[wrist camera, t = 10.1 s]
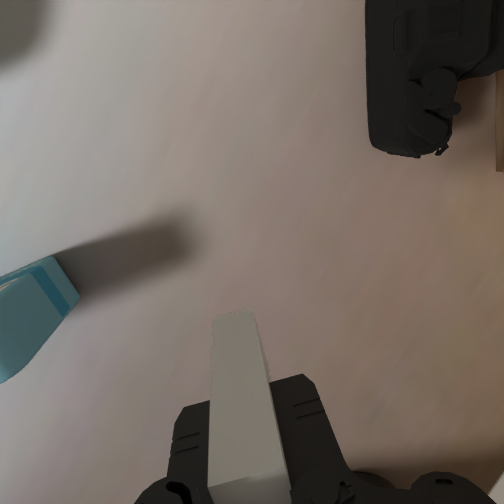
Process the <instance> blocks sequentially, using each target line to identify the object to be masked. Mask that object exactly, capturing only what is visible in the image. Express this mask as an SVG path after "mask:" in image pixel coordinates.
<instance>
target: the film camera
mask: <svg viewBox="0 0 504 504" xmlns="http://www.w3.org/2000/svg"><path fill="white" fill-rule="evenodd" d="M365 28H366V29H365V39H366V86H367V113H368V129H369V137H370V142H371V144H372V146H373V147H375V148H377V149H379V150H381V151H385V152H387V153H388V154H391V155H400V156H406V157H414V158H420V157H421V155H425V154H429V153H433V152H434V151H436V150H437V149H438V150H437V152H436V153H435V155H436V156H440V155H441V154H442V153H443V152H444V151H445V150H446V149H447V148H449V146H448V144H447V142H448V141H449V139H450V137H451V134H452V116H455V115H457V114H459V112H460V111H461V106H460V104H458V103H456V102H454V101H453V98H454V95H455V92H456V88H457V82H458V81H461V80H464V79H467V78H473V77H482V76H488V75H490V74H492V73H494V72H496V71H499V70H503V69H504V0H365ZM439 148H442V149H441V150H440V151H439Z"/></svg>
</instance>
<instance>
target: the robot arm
mask: <svg viewBox="0 0 504 504" xmlns="http://www.w3.org/2000/svg"><path fill="white" fill-rule="evenodd" d="M172 440H173V443H172V445H171V451H170V455H171V457H170V458H169V465H168V471H167V477H165V478H163V479H160V480H158V481H156V482H154V483H153V484H152V485H151V486H149V487H148V488H147V489H146V490H144V491H143V492H142V494H141V495H140V496H139V498H138V499H137V500H136V502H135V503H134V504H496V503H495V502H494V501H493V500H492V499H491V498H490V497H489V496H488V495H487V494H486V493H485V492H484V491H482V490H481V489H480V488H479V487H477V486H476V485H475V484H473V483H472V482H470V481H469V480H468V479H466V478H464V477H461V476H458V475H455V474H453V473H450V472H431V473H428V474H425V475H422V476H420V477H419V478H418V479H417V480H416V481H415V482H414V483H413V484H412V486H411V489H410V490H404V489H395V488H394V487H393V486H392V485H391V484H390V483H389V482H388V481H386V480H385V479H383V478H381V477H378V476H376V475H372V474H367V473H353V472H352V471H351V470H350V469H349V468H348V466H347V464H346V462H345V460H344V458H343V455H342V453H341V450H340V448H339V445H338V443H337V440H336V438H335V435H334V433H333V430H332V427H331V425H330V422H329V420H328V417H327V415H326V413H325V410H324V407H323V405H322V402H321V400H320V397H319V394H318V392H317V389H316V387H315V384H314V383H313V382H312V381H311V380H309V379H308V378H307V377H306V376H305V375H304V374H299V375H296V376H292V377H288V378H285V379H281V380H277V381H274V382H272V379H271V374H270V370H269V366H268V362H267V359H266V355H265V352H264V348H263V344H262V341H261V337H260V334H259V330H258V327H257V323H256V319H255V316H254V312H253V309H252V307H251V308H247V309H244V310H240V311H236V312H233V313H229V314H225V315H222V316H218V317H214V318H212V347H211V383H210V400H209V401H205V402H201V403H198V404H194V405H190V406H187V407H184V408H183V410H182V411H181V413H180V415H179V416H178V418H177V420H176V422H175V424H174V431H173V438H172Z"/></svg>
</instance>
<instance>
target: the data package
mask: <svg viewBox="0 0 504 504" xmlns="http://www.w3.org/2000/svg"><path fill="white" fill-rule="evenodd" d="M79 300H80V295H79V294H78V292H77V291H76V289H75V288H74V286H73V285H72V283H71V282H70V280H69V279H68V277H67V276H66V274H65V273H64V271H63V270H62V268H61V267H60V265H59V264H58V262H57V261H56V259H55V258H54V257H52V256H49V257H45V258H43V259H41V260H38V261H36V262H34V263H31V264H29V265H27V266H25V267H22V268H20V269H18V270H16V271H13V272H11V273H9V274H7V275H4V276H2V277H0V384H1V383H3V382H5V381H7V380H8V379H10V378H11V377H13V376H14V375H15V374H17V373H18V372H19V371H21V370H22V369H23V368H24V367H25V366H26V365H27V364H28V363H29V362H30V361H31V359H32V358H33V357H34V356H35V354H36V353H37V352H38V351H39V349H40V348H41V347H42V346H43V344H44V343H45V342H46V341H47V340H48V338H49V337H50V336H51V335H52V333H53V332H54V331H55V330H56V328H57V327H58V326H59V325H60V323H61V322H62V321H63V320H64V318H65V317H66V316H67V315H68V314H69V312H70V311H71V310H72V309H73V307H74V306H75V305H76V304H77V302H78V301H79Z"/></svg>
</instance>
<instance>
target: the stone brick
mask: <svg viewBox="0 0 504 504" xmlns="http://www.w3.org/2000/svg"><path fill="white" fill-rule="evenodd" d="M496 171H499V172H504V69H503V70H499V71H496Z"/></svg>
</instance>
